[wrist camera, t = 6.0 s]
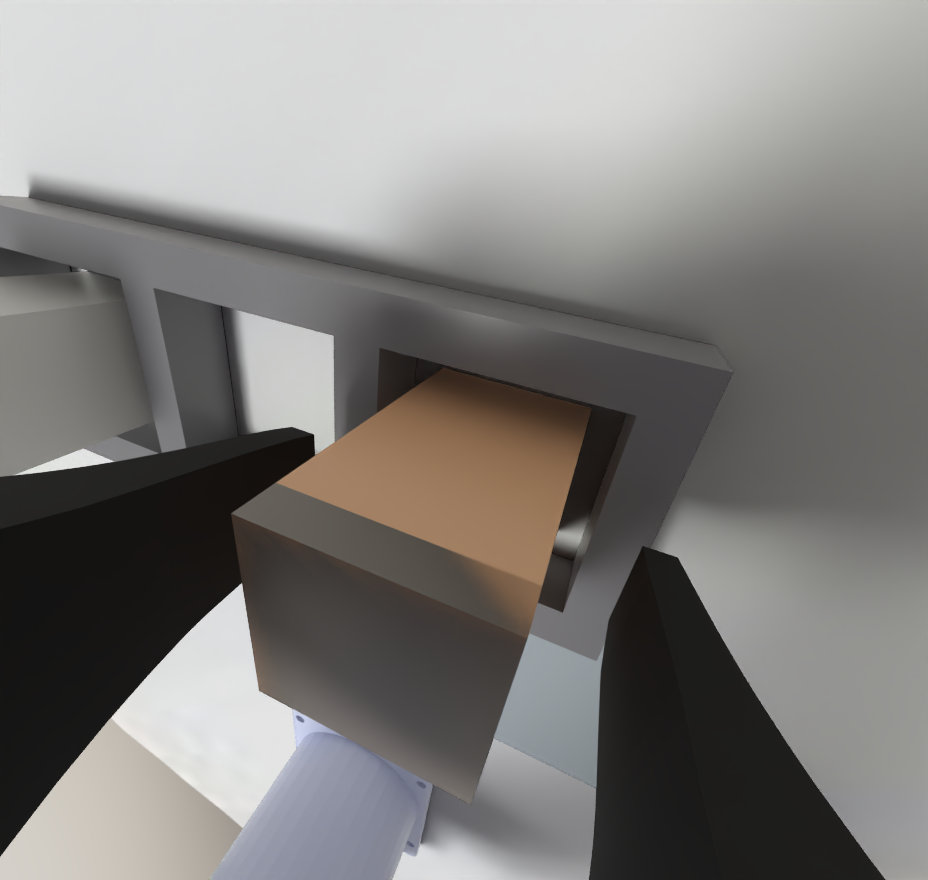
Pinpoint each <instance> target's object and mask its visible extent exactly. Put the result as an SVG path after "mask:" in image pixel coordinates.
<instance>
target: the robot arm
mask: <svg viewBox="0 0 928 880" xmlns="http://www.w3.org/2000/svg"><path fill="white" fill-rule="evenodd" d="M314 456H315V446H314V434H311V433H308V432H305V431H302V430H299V429H296V428H293V427H289V428H281V429H274V430H269V431H263V432H258V433H253V434H248V435H243V436H239V437H234V438H230V439H225V440H220V441H216V442H211V443H207V444H202V445H197V446H193V447H188V448H184V449H179V450H174V451H169V452H163V453H158V454H153V455H148V456H143V457H138V458H132V459H127V460H122V461H117V462H111V463H105V464H99V465H92V466H86V467H79V468H72V469H64V470H57V471H49V472H42V473H33V474H24V475H14V476H3V477H0V856H1V855H2V854H3V852H4V851H5V850H6V848H7V847H8V846H9V844H10V843H11V842H12V840H13V839H14V838H15V837H16V835H17V834H18V833H19V831H20V830H21V829H22V827H23V826H24V825H25V824H26V822H27V821H28V820H29V818H30V817H31V816H32V814H33V813H34V812H35V811H36V809H37V808H38V807H39V805H40V804H41V803H42V801H43V800H44V799H45V798H46V796H47V795H48V794H49V792H50V791H51V790H52V788H53V787H54V786H55V785H56V783H57V782H58V781H59V780H60V778H61V777H62V776H63V775H64V773H65V772H66V771H67V770H68V769H69V767H70V766H71V765H72V764H73V763H74V761H75V760H76V759H77V758H78V757H79V755H80V754H81V753H82V752H83V750H84V749H85V748H86V747H87V745H88V744H89V743H90V742H91V741H92V740H93V738H94V737H95V736H96V734H97V733H98V732H99V731H100V730H101V728H102V727H103V726H104V725H105V724H106V722H107V721H108V720H109V719H110V718H111V717H112V716H113V715H114V713H115V712H116V711H117V710H118V709H119V708H120V707H121V705H122V704H123V703H124V702H125V701H126V700H127V699H128V697H129V696H130V695H131V694H132V693H133V692H134V691H135V689H136V688H137V687H138V686H139V685H140V684H141V683H142V681H143V680H144V679H145V678H146V677H147V676H148V675H149V674H150V673H151V671H152V670H153V669H154V668H155V667H156V666H157V665H158V664H159V663H160V662H161V661H162V660H163V659H164V657H165V656H166V655H167V654H168V653H169V652H170V651H171V650H172V649H173V648H174V647H175V646H176V645H177V643H178V642H179V641H180V640H181V639H182V638H183V637H184V636H185V635H186V634H187V633H188V632H189V631H190V630H191V629H192V628H193V627H194V626H195V625H196V624H197V623H198V622H199V621H200V620H201V619H202V618H203V617H204V616H205V615H206V614H208V613H209V612H210V611H211V610H212V609H213V608H214V607H215V606H216V605H218V604H219V603H220V602H221V601H222V600H223V599H224V598H225V597H226V596H228V595H229V594H230V593H231V592H232V591H233V590H234V589H235V588H237V587H238V586H239V585H240V584H241V583H242V579H241V573H240V566H239V560H238V554H237V548H236V541H235V535H234V529H233V522H232V516H231V513H232V512H234V511H235V510H237V509H238V508H240V507H241V506H243V505H244V504H246V503H247V502H248V501H250V500H251V499H253V498H254V497H256V496H257V495H259V494H260V493H262V492H263V491H265V490H266V489H267V488H269V487H270V486H272V485H273V484H275V483H276V482H278V481H279V480H281V479H282V478H283V477H285V476H286V475H288V474H289V473H291V472H292V471H294V470H295V469H297V468H298V467H299V466H301V465H302V464H304V463H305V462H307V461H308V460H310V459H311V458H313V457H314ZM292 710H293V720H294V730H295V740H296V750H295V752H294V753H293V755H292V756H291V758H290V759H289V761H288V762H287V764H286V765H285V767H284V768H283V770H282V771H281V773H280V774H279V776H278V777H277V779H276V780H275V782H274V783H273V785H272V786H271V788H270V789H269V791H268V792H267V794H266V795H265V797H264V798H263V800H262V801H261V803H260V804H259V805H258V807H257V808H256V810H255V811H254V813H253V814H252V816H251V817H250V819H249V820H248V822H247V823H246V825H245V826H244V828H243V829H242V831H241V832H240V834H239V836H238V837H237V838H236V840H235V841H234V843H233V844H232V846H231V848H230V849H229V850H228V852H227V853H226V855H225V856H224V858H223V859H222V861H221V862H220V864H219V865H218V867H217V868H216V870H215V871H214V873H213V874H212V876H211V877H210V879H209V880H392V879H393V876H394V874H395V871H396V868H397V866H398V863H399V861H400V858H401V855H402V853H403V852H405V853H407V854H408V855H410V856H416V855H417V853H418V850H419V847H420V842H421V838H422V833H423V829H424V824H425V820H426V815H427V811H428V806H429V801H430V797H431V792H432V788H433V784H431V783H429V782H427V781H425V780H423V779H422V778H420V777H418V776H416V775H414V774H412V773H411V772H409V771H407V770H405V769H403V768H401V767H399V766H398V765H396V764H394V763H392V762H390V761H388V760H386V759H385V758H383V757H381V756H379V755H377V754H375V753H374V752H372V751H370V750H368V749H366V748H364V747H362V746H361V745H359V744H357V743H355V742H353V741H351V740H349V739H348V738H346V737H344V736H342V735H340V734H338V733H337V732H335V731H333V730H331V729H329V728H327V727H325V726H324V725H322V724H320V723H318V722H316V721H314V720H312V719H311V718H309V717H307V716H305V715H303V714H301V713H300V712H298V711H296V710H294V709H292ZM589 880H885V879H884V877H883V876H882V875H881V873H880V872H879V871H878V869H877V868H876V867H875V866H874V864H873V863H872V862H871V860H870V859H869V858H868V856H867V855H866V853H865V852H864V851H863V849H862V848H861V847H860V845H859V844H858V842H857V841H856V840H855V838H854V837H853V836H852V834H851V833H850V832H849V830H848V829H847V827H846V826H845V825H844V823H843V822H842V821H841V819H840V818H839V816H838V815H837V814H836V812H835V811H834V810H833V808H832V807H831V805H830V804H829V803H828V801H827V800H826V799H825V797H824V796H823V795H822V793H821V792H820V790H819V789H818V788H817V786H816V785H815V783H814V782H813V781H812V779H811V778H810V776H809V775H808V773H807V772H806V770H805V769H804V768H803V766H802V765H801V763H800V762H799V760H798V759H797V757H796V756H795V754H794V753H793V752H792V750H791V748H790V747H789V745H788V744H787V742H786V741H785V739H784V738H783V736H782V735H781V733H780V732H779V730H778V729H777V727H776V726H775V724H774V722H773V721H772V719H771V718H770V716H769V715H768V713H767V712H766V710H765V709H764V707H763V706H762V704H761V703H760V701H759V699H758V698H757V696H756V695H755V693H754V691H753V690H752V688H751V686H750V685H749V683H748V682H747V680H746V678H745V677H744V675H743V673H742V672H741V670H740V668H739V667H738V665H737V663H736V662H735V660H734V658H733V656H732V655H731V653H730V651H729V650H728V648H727V646H726V645H725V643H724V641H723V639H722V638H721V636H720V634H719V632H718V631H717V629H716V627H715V625H714V623H713V622H712V620H711V618H710V616H709V614H708V612H707V611H706V609H705V607H704V605H703V603H702V602H701V600H700V598H699V596H698V594H697V592H696V590H695V589H694V587H693V585H692V583H691V581H690V579H689V577H688V576H687V574H686V572H685V570H684V568H683V566H682V565H681V563H680V561H679V559H678V558H677V557H674V556H671V555H668V554H665V553H662V552H659V551H656V550H654V549H651V548H648V547H645V546H642V548H641V550H640V553H639V555H638V557H637V559H636V561H635V564H634V566H633V568H632V570H631V572H630V574H629V577H628V579H627V581H626V583H625V585H624V587H623V590H622V592H621V594H620V596H619V598H618V601H617V603H616V605H615V607H614V609H613V611H612V614H611V616H610V618H609V621H608V627H607V633H606V639H605V645H604V652H603V658H602V665H601V674H600V697H599V723H598V753H597V782H596V811H595V825H594V839H593V850H592V858H591V867H590V875H589Z"/></svg>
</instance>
